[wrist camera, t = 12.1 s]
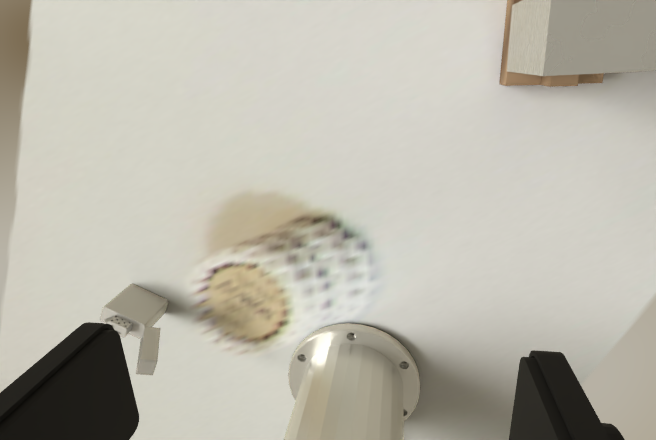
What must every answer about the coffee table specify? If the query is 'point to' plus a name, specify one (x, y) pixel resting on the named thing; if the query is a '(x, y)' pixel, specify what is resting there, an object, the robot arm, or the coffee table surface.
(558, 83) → the rail
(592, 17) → the white and wooden block
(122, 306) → the lighter
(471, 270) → the coffee table surface
